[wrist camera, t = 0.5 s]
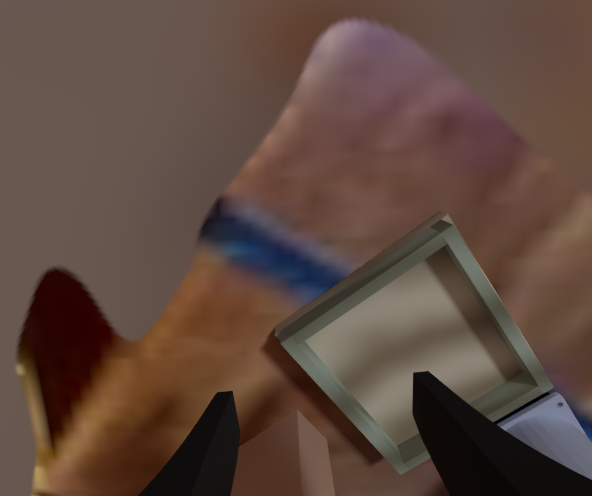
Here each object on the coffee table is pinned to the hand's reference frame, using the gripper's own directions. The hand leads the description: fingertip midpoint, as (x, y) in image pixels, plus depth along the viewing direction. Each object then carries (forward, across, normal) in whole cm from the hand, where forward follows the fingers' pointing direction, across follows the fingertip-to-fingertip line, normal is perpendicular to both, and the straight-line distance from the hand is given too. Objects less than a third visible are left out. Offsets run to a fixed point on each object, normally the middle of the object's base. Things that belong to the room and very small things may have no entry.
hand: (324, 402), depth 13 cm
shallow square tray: (+10, -7, +5) cm, 13 cm away
